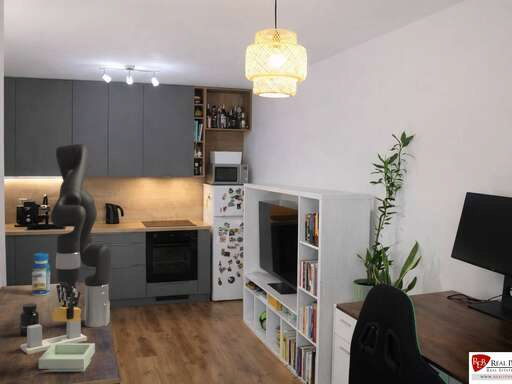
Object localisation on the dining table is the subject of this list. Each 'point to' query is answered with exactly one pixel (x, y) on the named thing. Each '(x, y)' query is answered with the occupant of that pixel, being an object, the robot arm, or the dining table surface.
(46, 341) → the block
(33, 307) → the supplement bottle
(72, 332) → the block
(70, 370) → the sage tray
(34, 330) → the block
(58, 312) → the block
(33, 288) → the blue vitamin bottle
